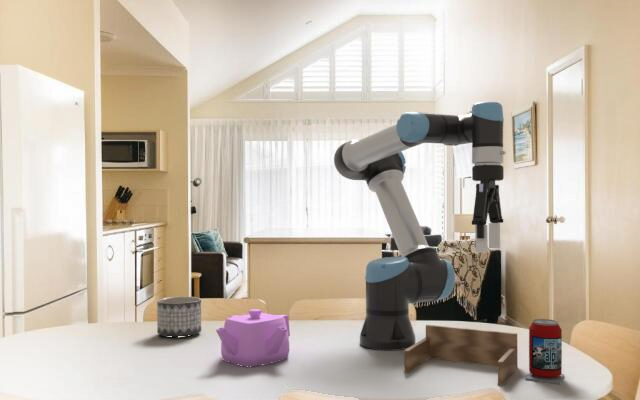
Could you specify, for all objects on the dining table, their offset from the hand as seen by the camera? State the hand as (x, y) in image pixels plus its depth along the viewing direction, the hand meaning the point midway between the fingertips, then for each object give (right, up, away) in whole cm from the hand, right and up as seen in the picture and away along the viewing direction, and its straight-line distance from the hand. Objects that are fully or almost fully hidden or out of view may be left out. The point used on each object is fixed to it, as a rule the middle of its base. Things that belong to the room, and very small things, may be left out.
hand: (488, 250), depth 153 cm
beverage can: (+8, -26, -18) cm, 33 cm away
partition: (-9, -27, -11) cm, 30 cm away
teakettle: (-58, -27, 0) cm, 64 cm away
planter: (-83, -28, +28) cm, 92 cm away
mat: (+8, -27, -18) cm, 33 cm away
